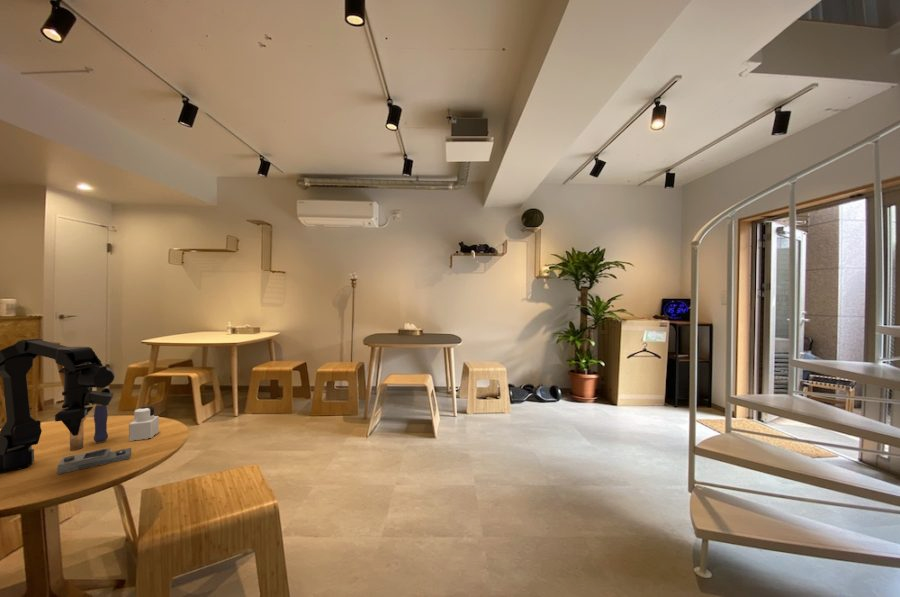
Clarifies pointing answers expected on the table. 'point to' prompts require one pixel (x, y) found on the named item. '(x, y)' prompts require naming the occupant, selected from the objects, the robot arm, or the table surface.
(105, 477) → the table surface
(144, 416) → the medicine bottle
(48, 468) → the table surface
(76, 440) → the pin
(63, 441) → the table surface
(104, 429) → the rubber mallet
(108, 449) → the slotted metal plate
